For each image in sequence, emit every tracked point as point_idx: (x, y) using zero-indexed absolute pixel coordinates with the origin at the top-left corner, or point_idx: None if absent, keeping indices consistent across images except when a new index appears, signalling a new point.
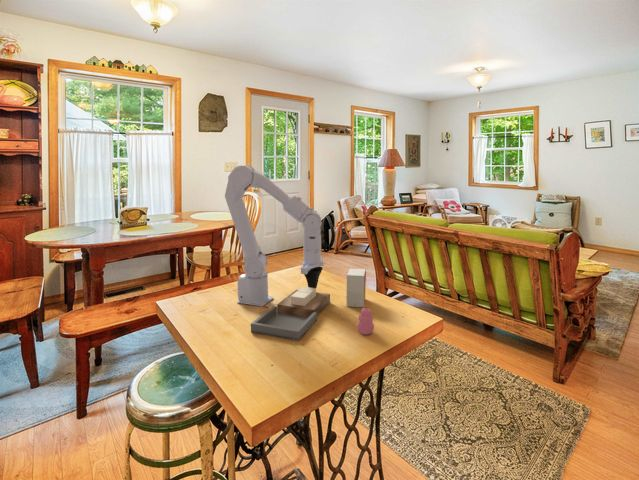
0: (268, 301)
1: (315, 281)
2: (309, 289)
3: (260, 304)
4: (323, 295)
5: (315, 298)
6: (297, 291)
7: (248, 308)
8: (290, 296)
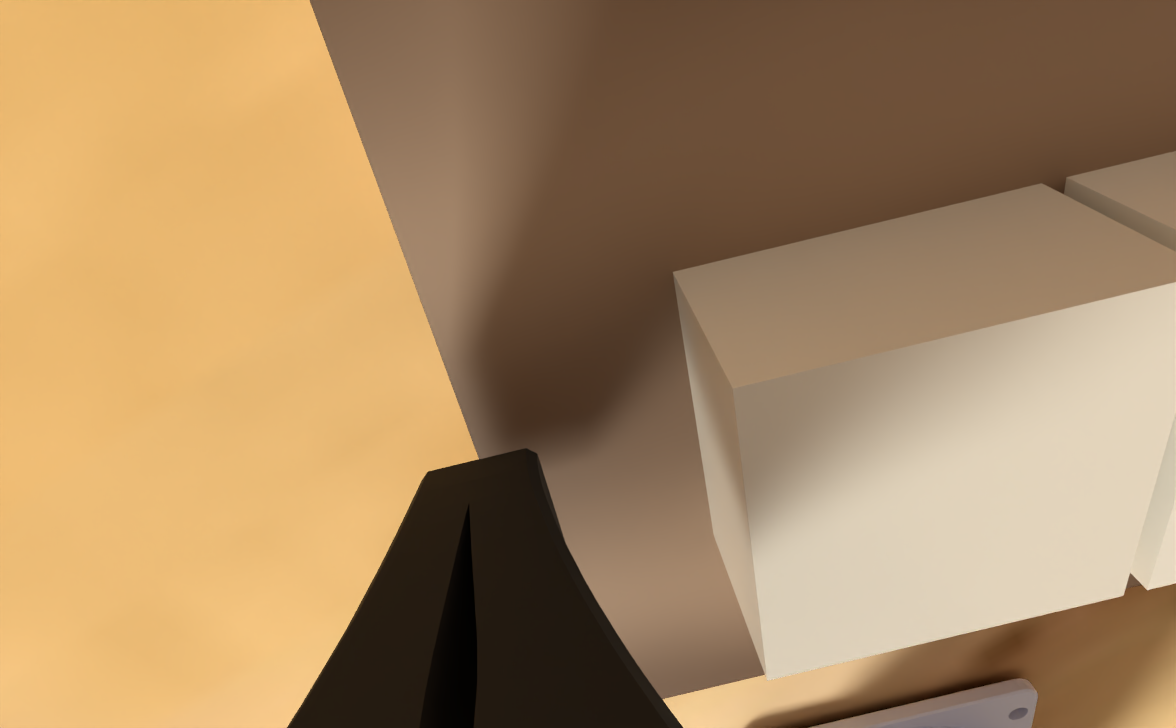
0: (876, 715)
1: (615, 631)
2: (918, 463)
3: (1004, 711)
4: (556, 101)
5: (876, 158)
6: (1153, 578)
7: (1092, 719)
8: None
